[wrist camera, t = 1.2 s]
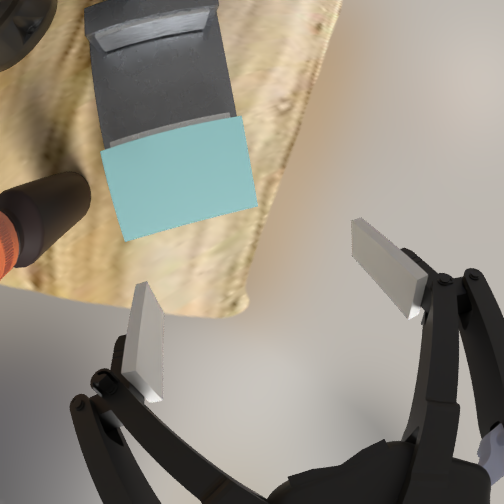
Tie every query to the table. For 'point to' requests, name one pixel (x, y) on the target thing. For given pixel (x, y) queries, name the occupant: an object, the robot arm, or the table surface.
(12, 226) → the vinegar
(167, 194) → the block
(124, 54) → the vise base
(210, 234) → the table surface
